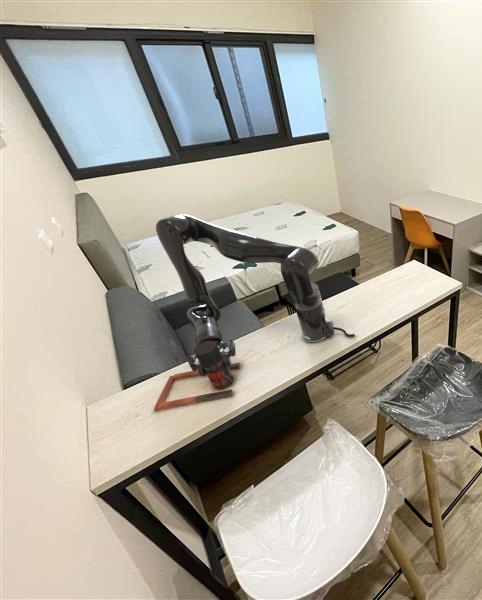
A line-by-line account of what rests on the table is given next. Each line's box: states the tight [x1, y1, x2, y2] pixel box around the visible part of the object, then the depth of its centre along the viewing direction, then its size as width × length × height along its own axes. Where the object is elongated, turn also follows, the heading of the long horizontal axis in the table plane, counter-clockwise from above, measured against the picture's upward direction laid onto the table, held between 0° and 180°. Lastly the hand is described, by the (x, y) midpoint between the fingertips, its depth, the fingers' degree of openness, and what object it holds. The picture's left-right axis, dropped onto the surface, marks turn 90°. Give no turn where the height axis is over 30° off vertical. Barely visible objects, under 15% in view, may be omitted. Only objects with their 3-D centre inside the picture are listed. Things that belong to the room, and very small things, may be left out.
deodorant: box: [193, 341, 235, 391], centre depth 97 cm, size 6×6×15 cm
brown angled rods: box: [153, 362, 242, 412], centre depth 100 cm, size 22×13×2 cm, turn 102°
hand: (215, 369), depth 96 cm, fingers closed on deodorant, 6 cm apart
